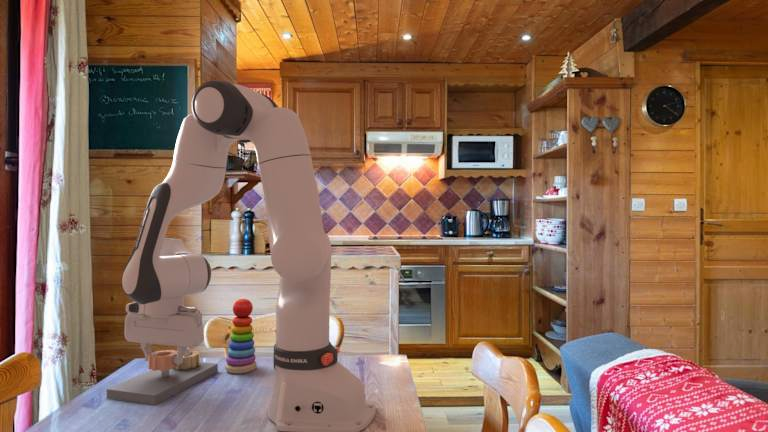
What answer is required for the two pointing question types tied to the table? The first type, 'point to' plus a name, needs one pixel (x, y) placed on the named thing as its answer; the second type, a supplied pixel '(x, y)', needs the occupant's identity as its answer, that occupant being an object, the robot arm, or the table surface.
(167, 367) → the loose gear
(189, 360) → the gear
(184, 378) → the gear board
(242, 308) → the stacking toy
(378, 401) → the table surface
